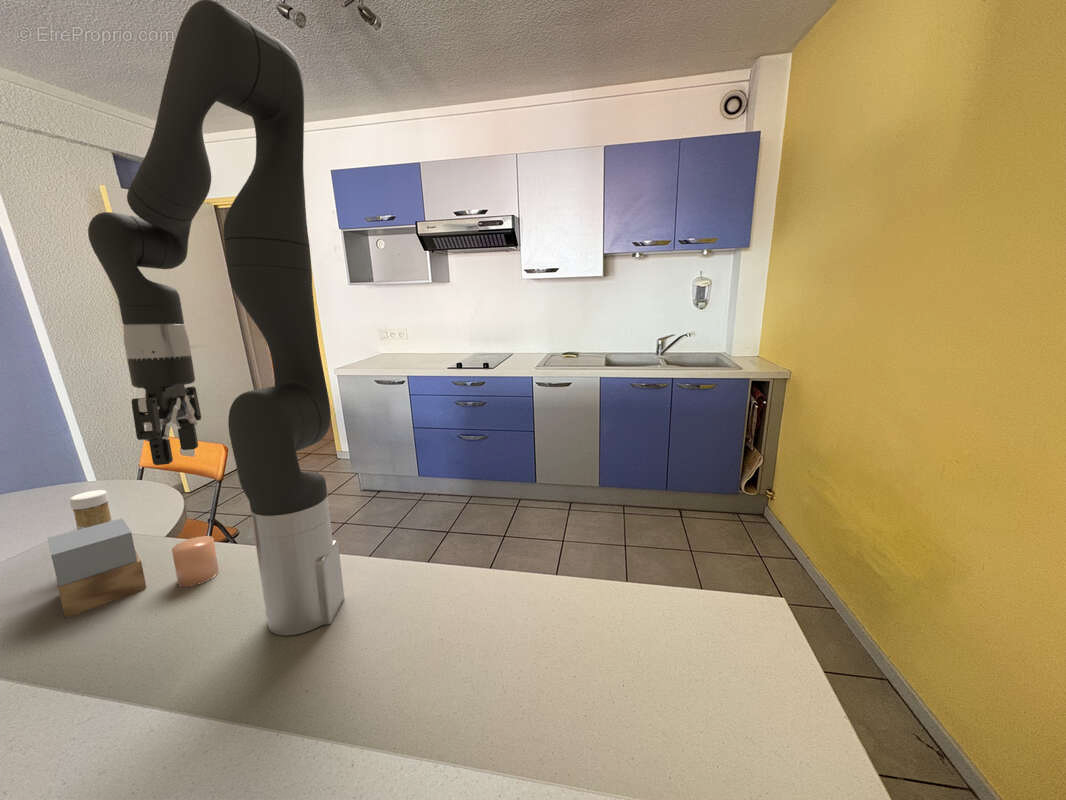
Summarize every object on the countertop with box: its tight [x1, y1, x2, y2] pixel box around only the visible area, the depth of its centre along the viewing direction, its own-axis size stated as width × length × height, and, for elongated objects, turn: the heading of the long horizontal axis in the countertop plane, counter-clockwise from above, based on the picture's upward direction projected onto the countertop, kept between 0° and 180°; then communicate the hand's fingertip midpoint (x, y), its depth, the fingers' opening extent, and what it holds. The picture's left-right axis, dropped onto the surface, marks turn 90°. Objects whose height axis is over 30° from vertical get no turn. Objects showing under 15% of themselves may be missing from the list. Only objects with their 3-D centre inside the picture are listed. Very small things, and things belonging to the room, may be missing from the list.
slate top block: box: [47, 517, 137, 587], centre depth 67 cm, size 8×8×5 cm
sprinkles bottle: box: [69, 489, 112, 530], centre depth 75 cm, size 5×5×13 cm
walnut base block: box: [56, 550, 147, 619], centre depth 68 cm, size 9×9×5 cm
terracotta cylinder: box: [171, 535, 220, 587], centre depth 71 cm, size 6×6×6 cm
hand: (177, 456), depth 68 cm, fingers open, 8 cm apart
